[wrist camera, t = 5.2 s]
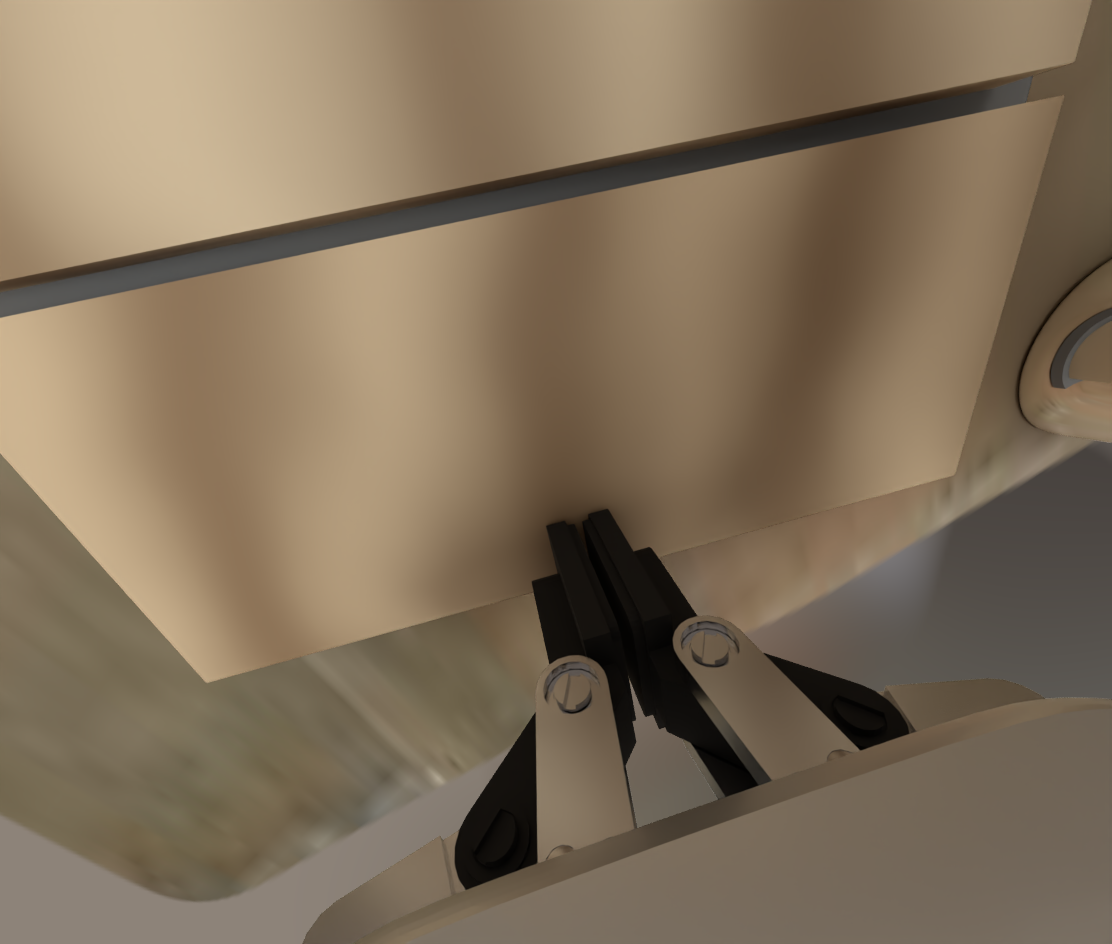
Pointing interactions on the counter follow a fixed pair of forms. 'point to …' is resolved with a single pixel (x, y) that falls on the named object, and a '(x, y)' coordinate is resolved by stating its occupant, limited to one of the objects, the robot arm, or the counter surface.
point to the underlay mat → (500, 201)
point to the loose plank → (524, 386)
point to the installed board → (429, 102)
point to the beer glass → (1073, 364)
